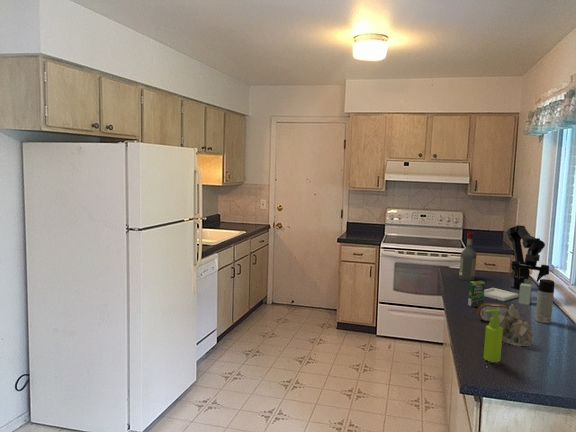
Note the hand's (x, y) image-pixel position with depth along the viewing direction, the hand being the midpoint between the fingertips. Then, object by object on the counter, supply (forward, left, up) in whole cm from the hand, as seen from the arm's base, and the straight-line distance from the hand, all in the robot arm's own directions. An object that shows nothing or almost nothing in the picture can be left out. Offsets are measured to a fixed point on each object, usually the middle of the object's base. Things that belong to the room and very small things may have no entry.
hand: (527, 280), depth 265 cm
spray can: (+28, +23, -12) cm, 38 cm away
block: (+5, +2, -12) cm, 13 cm away
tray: (+5, -13, -11) cm, 18 cm away
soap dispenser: (+94, +35, -12) cm, 101 cm away
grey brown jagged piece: (+67, +27, -12) cm, 73 cm away
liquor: (-15, -46, -12) cm, 50 cm away
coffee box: (+34, -9, -12) cm, 37 cm away
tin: (+49, +10, -12) cm, 51 cm away
